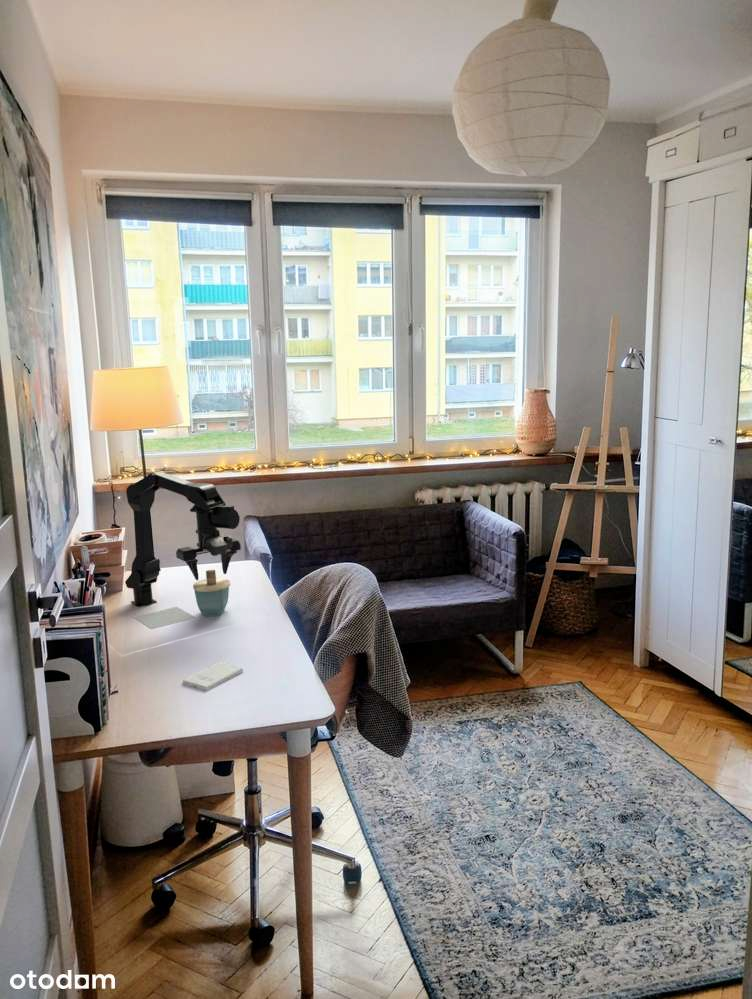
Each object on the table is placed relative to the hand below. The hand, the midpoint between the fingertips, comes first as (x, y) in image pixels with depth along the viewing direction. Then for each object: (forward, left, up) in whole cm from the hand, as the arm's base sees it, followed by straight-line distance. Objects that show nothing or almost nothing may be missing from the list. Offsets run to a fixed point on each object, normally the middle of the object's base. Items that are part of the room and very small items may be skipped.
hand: (211, 576), depth 235 cm
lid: (0, 0, -3) cm, 3 cm away
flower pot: (0, 0, -12) cm, 12 cm away
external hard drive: (+44, -22, -12) cm, 50 cm away
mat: (-7, -13, -12) cm, 19 cm away
